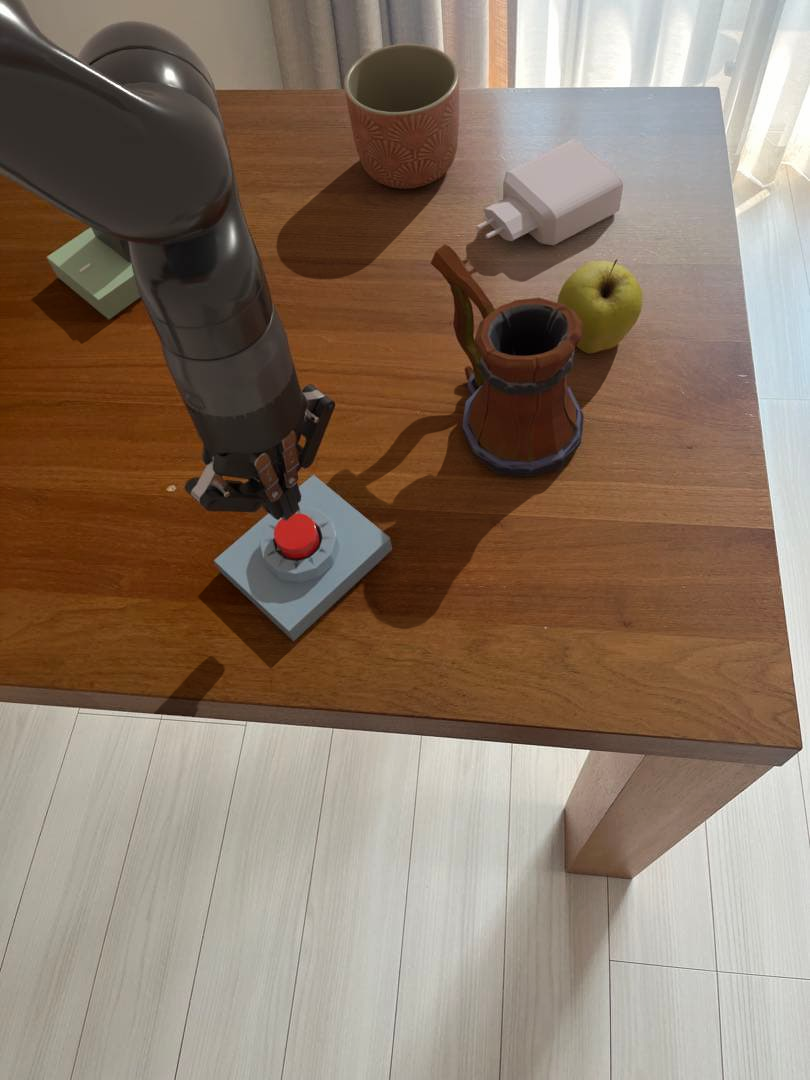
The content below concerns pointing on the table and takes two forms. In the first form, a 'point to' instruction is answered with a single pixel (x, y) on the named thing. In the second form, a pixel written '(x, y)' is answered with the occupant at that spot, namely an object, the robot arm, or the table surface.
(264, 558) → the button box
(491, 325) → the mug
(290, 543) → the button
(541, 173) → the charger
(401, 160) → the planter
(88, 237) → the panel
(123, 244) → the dark gray bar
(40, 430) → the table surface
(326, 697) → the table surface
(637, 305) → the apple
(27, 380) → the table surface
